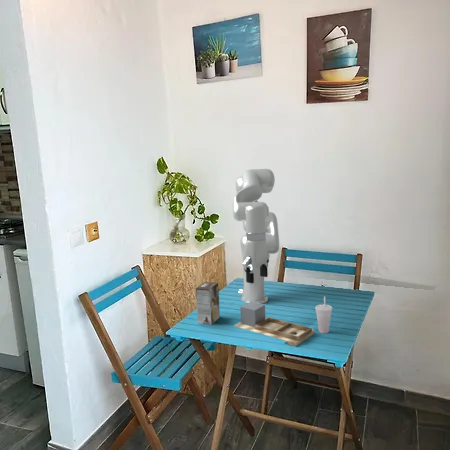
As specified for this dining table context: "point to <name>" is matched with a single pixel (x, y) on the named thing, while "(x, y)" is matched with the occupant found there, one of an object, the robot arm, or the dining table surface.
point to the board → (281, 330)
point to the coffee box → (207, 303)
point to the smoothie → (323, 317)
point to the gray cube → (252, 313)
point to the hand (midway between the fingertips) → (257, 279)
